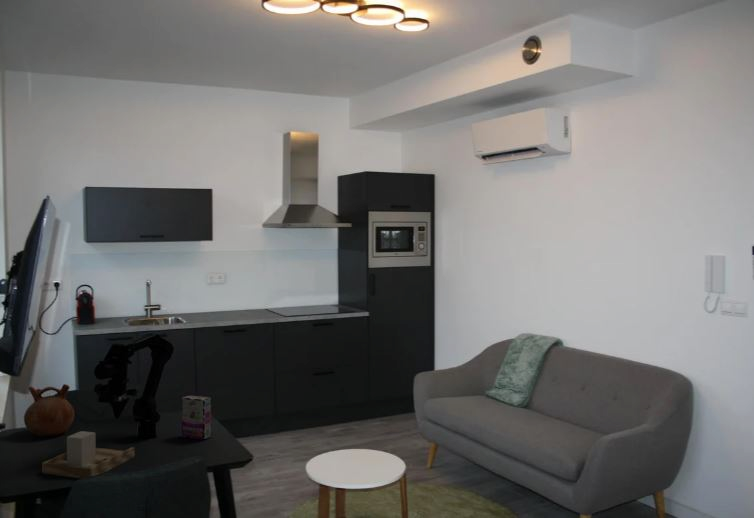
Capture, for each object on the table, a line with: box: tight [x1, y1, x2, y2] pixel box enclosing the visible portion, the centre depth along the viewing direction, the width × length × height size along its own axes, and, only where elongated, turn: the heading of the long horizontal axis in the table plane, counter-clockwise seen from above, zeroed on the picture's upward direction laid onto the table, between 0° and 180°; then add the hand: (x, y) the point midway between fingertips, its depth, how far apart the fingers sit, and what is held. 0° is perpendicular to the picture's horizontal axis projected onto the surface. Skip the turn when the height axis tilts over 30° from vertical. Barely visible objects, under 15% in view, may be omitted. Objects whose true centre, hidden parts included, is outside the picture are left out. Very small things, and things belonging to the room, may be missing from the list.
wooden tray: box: [41, 446, 136, 479], centre depth 233 cm, size 24×20×4 cm
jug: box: [23, 383, 75, 438], centre depth 269 cm, size 18×18×20 cm
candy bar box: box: [181, 394, 212, 440], centre depth 265 cm, size 11×5×16 cm, turn 68°
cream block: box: [66, 430, 97, 467], centre depth 229 cm, size 7×6×10 cm
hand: (116, 418), depth 249 cm, fingers closed
